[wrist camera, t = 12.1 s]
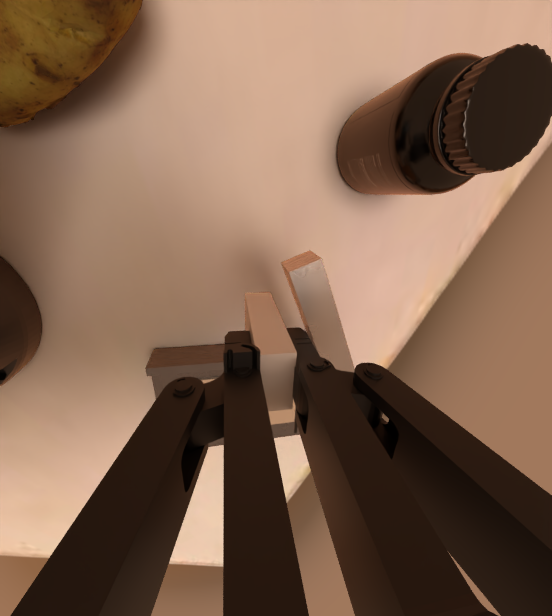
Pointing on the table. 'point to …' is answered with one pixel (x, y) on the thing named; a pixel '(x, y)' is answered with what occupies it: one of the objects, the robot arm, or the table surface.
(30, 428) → the table surface
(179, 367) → the metal plate with cutouts
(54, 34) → the potato
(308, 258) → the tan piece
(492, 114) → the supplement bottle
